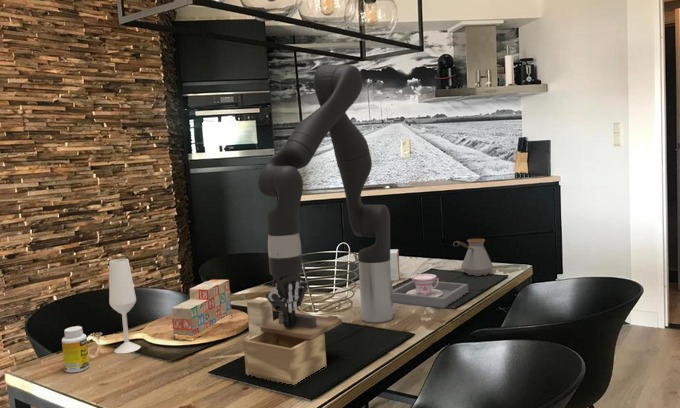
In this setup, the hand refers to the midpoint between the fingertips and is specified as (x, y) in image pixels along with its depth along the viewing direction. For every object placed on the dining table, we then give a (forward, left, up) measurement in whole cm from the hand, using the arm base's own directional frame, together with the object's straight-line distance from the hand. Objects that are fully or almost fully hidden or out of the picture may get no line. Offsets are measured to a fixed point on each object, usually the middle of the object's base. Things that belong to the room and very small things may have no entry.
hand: (290, 327), depth 134 cm
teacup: (-67, +1, -9) cm, 68 cm away
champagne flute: (+9, -49, -10) cm, 51 cm away
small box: (-86, -21, -10) cm, 89 cm away
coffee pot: (-99, +5, -10) cm, 99 cm away
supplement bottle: (+24, -48, -10) cm, 55 cm away
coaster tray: (-67, +3, -10) cm, 67 cm away
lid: (-5, 0, -1) cm, 5 cm away
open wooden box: (+2, 0, -10) cm, 10 cm away
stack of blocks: (-12, -43, -10) cm, 45 cm away
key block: (-9, -17, -10) cm, 21 cm away
